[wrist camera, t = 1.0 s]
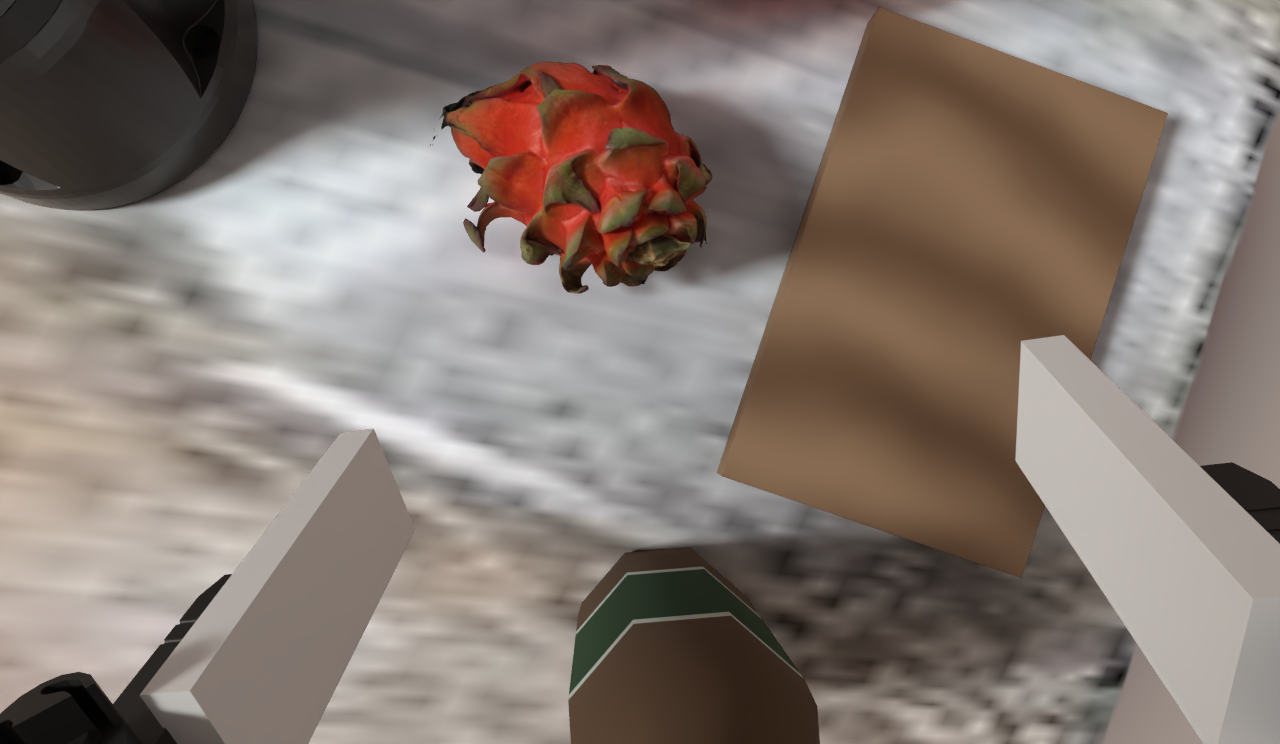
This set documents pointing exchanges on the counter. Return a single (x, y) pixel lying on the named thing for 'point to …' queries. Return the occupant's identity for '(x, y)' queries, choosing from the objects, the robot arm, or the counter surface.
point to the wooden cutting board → (938, 287)
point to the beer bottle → (681, 661)
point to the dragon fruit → (583, 171)
